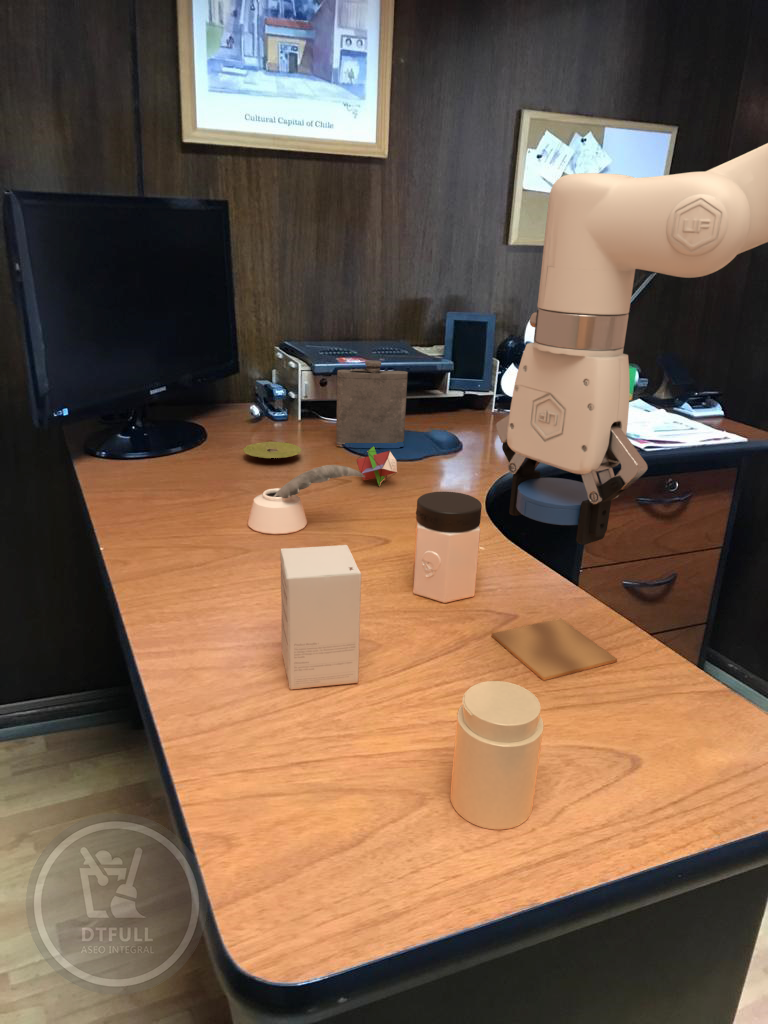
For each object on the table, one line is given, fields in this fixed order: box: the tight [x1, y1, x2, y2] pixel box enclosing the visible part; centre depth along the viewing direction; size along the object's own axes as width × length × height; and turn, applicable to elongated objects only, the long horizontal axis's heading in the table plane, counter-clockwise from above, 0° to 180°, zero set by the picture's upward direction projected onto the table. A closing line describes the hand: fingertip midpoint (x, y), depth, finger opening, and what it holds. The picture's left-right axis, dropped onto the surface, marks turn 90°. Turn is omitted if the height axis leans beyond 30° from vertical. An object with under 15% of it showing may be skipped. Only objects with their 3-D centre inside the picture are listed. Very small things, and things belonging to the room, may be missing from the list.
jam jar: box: [449, 680, 545, 831], centre depth 62 cm, size 7×7×10 cm
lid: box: [516, 477, 588, 526], centre depth 71 cm, size 8×8×2 cm
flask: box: [335, 359, 409, 445], centre depth 159 cm, size 4×14×18 cm, turn 96°
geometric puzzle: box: [355, 446, 398, 486], centre depth 139 cm, size 7×7×8 cm
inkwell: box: [247, 464, 365, 535], centre depth 118 cm, size 9×18×10 cm, turn 92°
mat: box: [242, 441, 302, 459], centre depth 151 cm, size 11×11×2 cm
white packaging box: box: [279, 544, 362, 691], centre depth 79 cm, size 7×7×13 cm
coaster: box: [490, 618, 618, 682], centre depth 87 cm, size 10×10×1 cm
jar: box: [412, 491, 482, 604], centre depth 99 cm, size 9×8×12 cm
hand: (555, 525), depth 72 cm, fingers closed on lid, 7 cm apart
